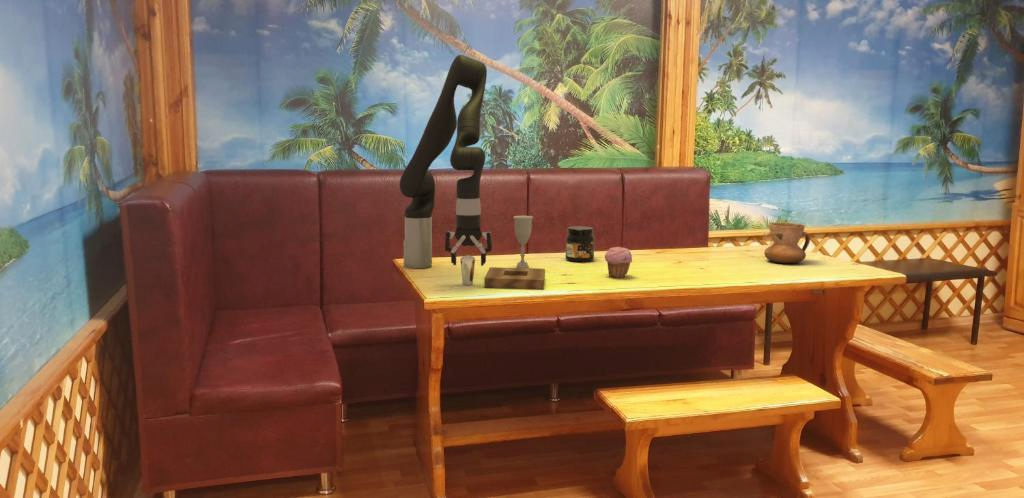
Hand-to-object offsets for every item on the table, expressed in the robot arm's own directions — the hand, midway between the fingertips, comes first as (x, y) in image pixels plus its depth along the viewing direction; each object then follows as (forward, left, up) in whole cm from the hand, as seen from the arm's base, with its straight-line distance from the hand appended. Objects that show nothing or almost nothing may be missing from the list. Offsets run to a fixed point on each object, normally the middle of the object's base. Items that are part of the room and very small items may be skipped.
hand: (468, 265), depth 246 cm
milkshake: (-1, 0, -6) cm, 6 cm away
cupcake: (+47, +19, -6) cm, 51 cm away
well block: (+14, +5, -6) cm, 16 cm away
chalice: (+15, +28, -6) cm, 32 cm away
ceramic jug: (+111, +55, -6) cm, 124 cm away
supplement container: (+35, +48, -6) cm, 60 cm away
